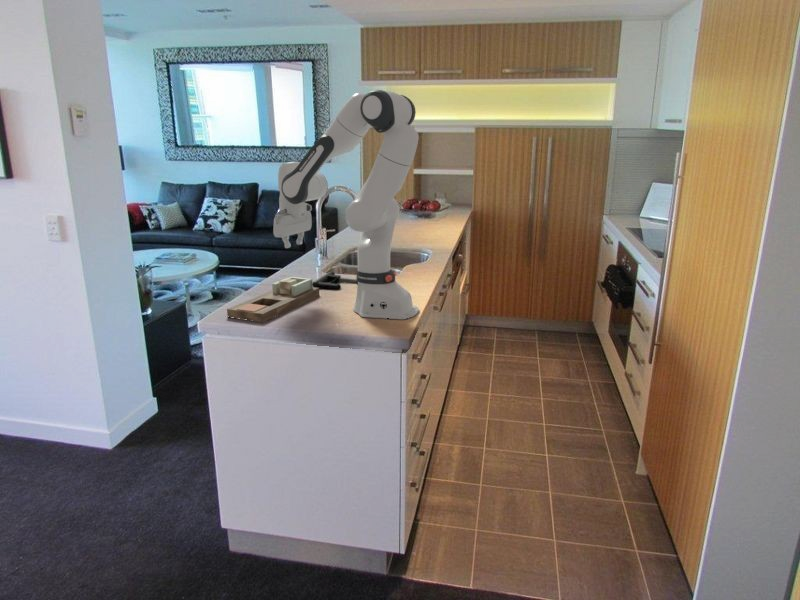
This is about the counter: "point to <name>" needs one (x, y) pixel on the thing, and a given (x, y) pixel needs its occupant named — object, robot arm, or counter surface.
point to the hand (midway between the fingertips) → (293, 246)
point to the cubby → (296, 289)
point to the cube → (286, 285)
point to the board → (272, 305)
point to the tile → (251, 307)
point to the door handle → (331, 281)
